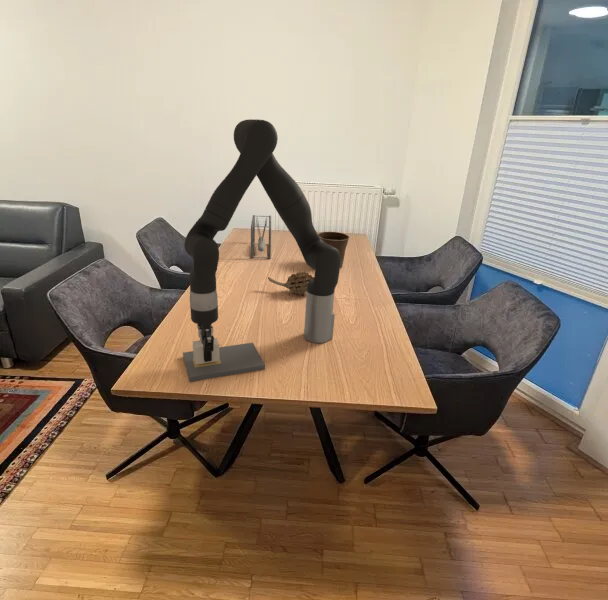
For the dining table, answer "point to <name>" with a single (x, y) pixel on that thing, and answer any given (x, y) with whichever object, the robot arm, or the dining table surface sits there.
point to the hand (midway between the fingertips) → (206, 356)
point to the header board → (225, 362)
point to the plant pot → (336, 242)
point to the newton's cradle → (261, 240)
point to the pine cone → (296, 282)
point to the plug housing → (199, 352)
